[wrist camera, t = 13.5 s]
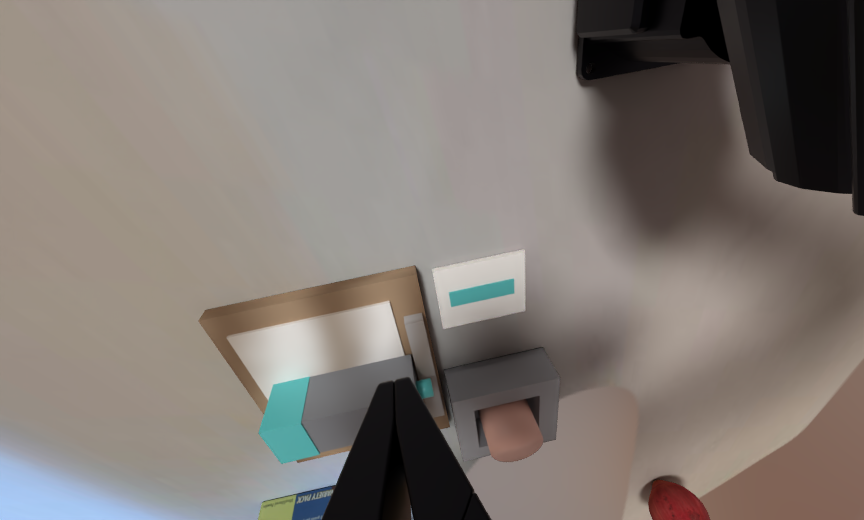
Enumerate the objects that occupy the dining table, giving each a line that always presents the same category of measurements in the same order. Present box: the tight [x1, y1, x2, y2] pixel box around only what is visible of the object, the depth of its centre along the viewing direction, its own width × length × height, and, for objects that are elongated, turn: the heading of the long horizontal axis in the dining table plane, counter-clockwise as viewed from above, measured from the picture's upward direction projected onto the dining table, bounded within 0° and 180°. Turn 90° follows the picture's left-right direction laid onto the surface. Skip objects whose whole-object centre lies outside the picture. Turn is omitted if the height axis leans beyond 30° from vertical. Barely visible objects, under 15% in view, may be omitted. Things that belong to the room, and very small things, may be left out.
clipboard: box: [199, 266, 450, 463], centre depth 25 cm, size 13×16×2 cm
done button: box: [478, 399, 543, 462], centre depth 27 cm, size 4×4×4 cm
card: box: [432, 249, 525, 329], centre depth 23 cm, size 6×5×1 cm
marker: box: [259, 354, 434, 464], centre depth 23 cm, size 10×4×4 cm, turn 99°
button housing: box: [444, 347, 560, 462], centre depth 28 cm, size 8×8×3 cm
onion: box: [648, 480, 710, 520], centre depth 40 cm, size 6×6×8 cm
